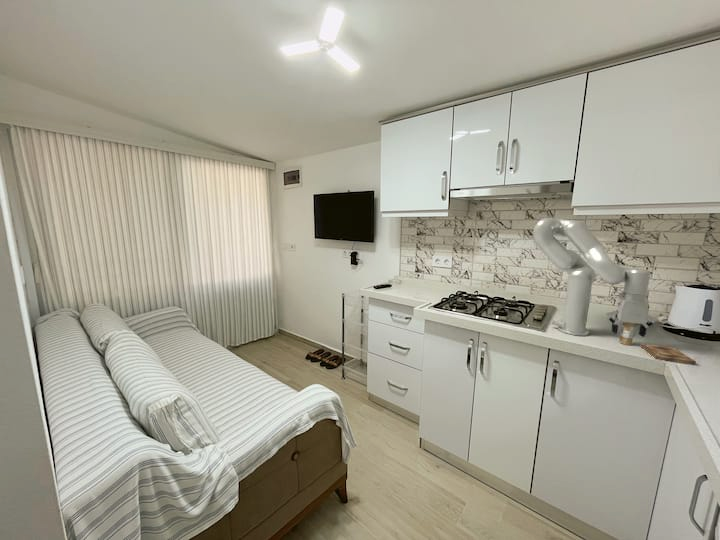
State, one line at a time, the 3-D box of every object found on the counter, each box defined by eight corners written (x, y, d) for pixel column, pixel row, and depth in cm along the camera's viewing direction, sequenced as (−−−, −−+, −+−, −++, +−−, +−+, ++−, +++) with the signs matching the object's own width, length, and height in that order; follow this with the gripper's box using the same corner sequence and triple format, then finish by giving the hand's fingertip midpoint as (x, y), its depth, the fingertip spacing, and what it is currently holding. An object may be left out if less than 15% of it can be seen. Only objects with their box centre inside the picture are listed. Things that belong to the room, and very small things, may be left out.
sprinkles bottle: (616, 341, 137) (621, 313, 135) (625, 341, 137) (630, 313, 135) (625, 345, 132) (631, 316, 130) (635, 345, 133) (640, 316, 131)
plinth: (655, 359, 120) (656, 354, 119) (640, 347, 131) (640, 342, 130) (695, 365, 116) (696, 359, 115) (675, 352, 127) (676, 347, 126)
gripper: (613, 296, 131) (607, 334, 134) (664, 301, 125) (657, 340, 128) (606, 293, 138) (600, 328, 140) (654, 296, 132) (647, 334, 135)
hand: (627, 334), depth 134 cm, fingers open, 9 cm apart
